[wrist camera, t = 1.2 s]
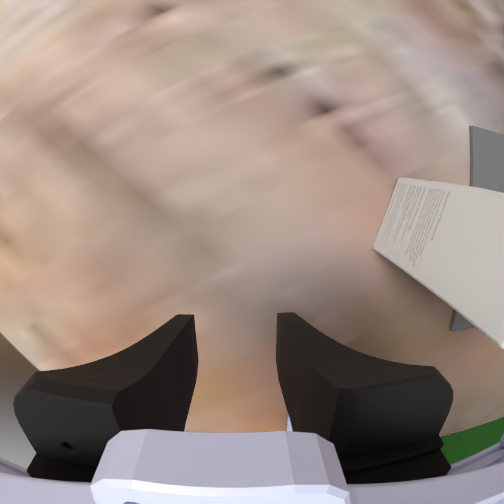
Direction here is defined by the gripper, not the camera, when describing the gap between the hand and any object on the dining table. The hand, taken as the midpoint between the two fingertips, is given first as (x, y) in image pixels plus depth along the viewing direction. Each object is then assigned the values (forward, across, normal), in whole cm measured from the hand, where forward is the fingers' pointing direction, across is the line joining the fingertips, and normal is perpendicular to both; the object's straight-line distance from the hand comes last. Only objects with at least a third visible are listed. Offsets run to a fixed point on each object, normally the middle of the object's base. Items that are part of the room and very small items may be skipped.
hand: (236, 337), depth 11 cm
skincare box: (+11, -14, -2) cm, 18 cm away
